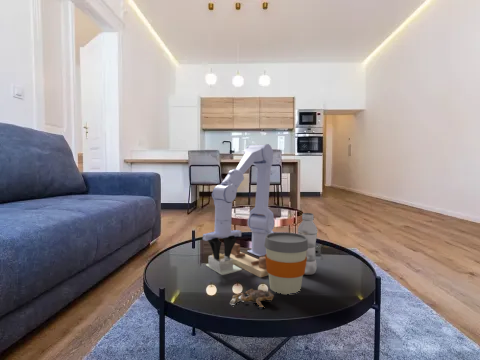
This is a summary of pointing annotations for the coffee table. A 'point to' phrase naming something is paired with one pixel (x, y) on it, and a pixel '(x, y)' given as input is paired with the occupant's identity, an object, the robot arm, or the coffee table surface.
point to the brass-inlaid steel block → (220, 263)
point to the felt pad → (227, 271)
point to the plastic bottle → (309, 241)
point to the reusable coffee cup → (285, 261)
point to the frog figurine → (252, 297)
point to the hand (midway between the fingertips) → (221, 258)
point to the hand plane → (249, 262)
